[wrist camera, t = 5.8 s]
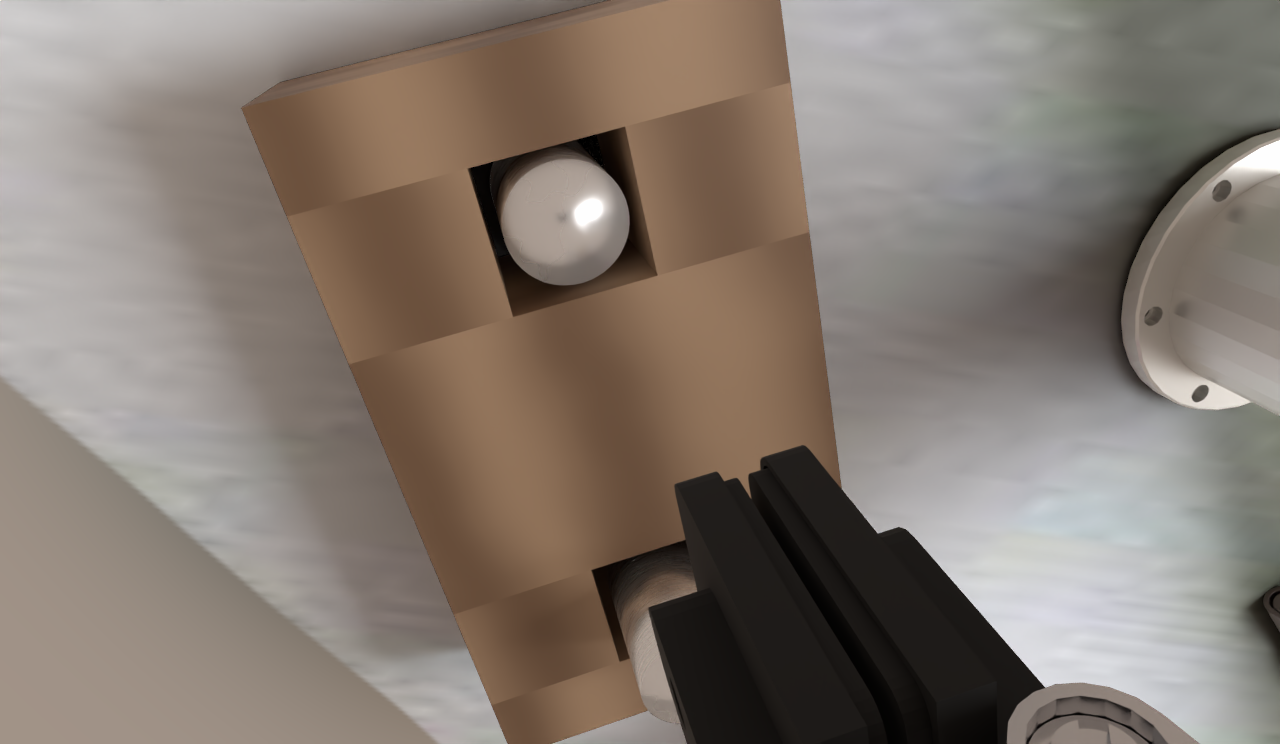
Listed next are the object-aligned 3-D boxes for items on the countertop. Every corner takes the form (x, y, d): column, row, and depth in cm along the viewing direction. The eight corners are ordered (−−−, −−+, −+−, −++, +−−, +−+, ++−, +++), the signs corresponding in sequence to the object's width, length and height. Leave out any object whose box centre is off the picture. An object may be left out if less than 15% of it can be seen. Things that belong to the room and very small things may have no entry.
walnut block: (709, -25, 27) (776, -27, 22) (800, 546, 38) (860, 637, 33) (279, 82, 26) (241, 107, 21) (501, 645, 37) (513, 756, 31)
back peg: (692, 518, 31) (742, 619, 26) (709, 593, 32) (759, 701, 27) (597, 549, 30) (629, 657, 25) (619, 622, 32) (653, 738, 27)
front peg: (581, 116, 28) (614, 144, 23) (606, 219, 30) (641, 266, 25) (476, 144, 28) (485, 178, 23) (506, 247, 29) (522, 300, 24)
